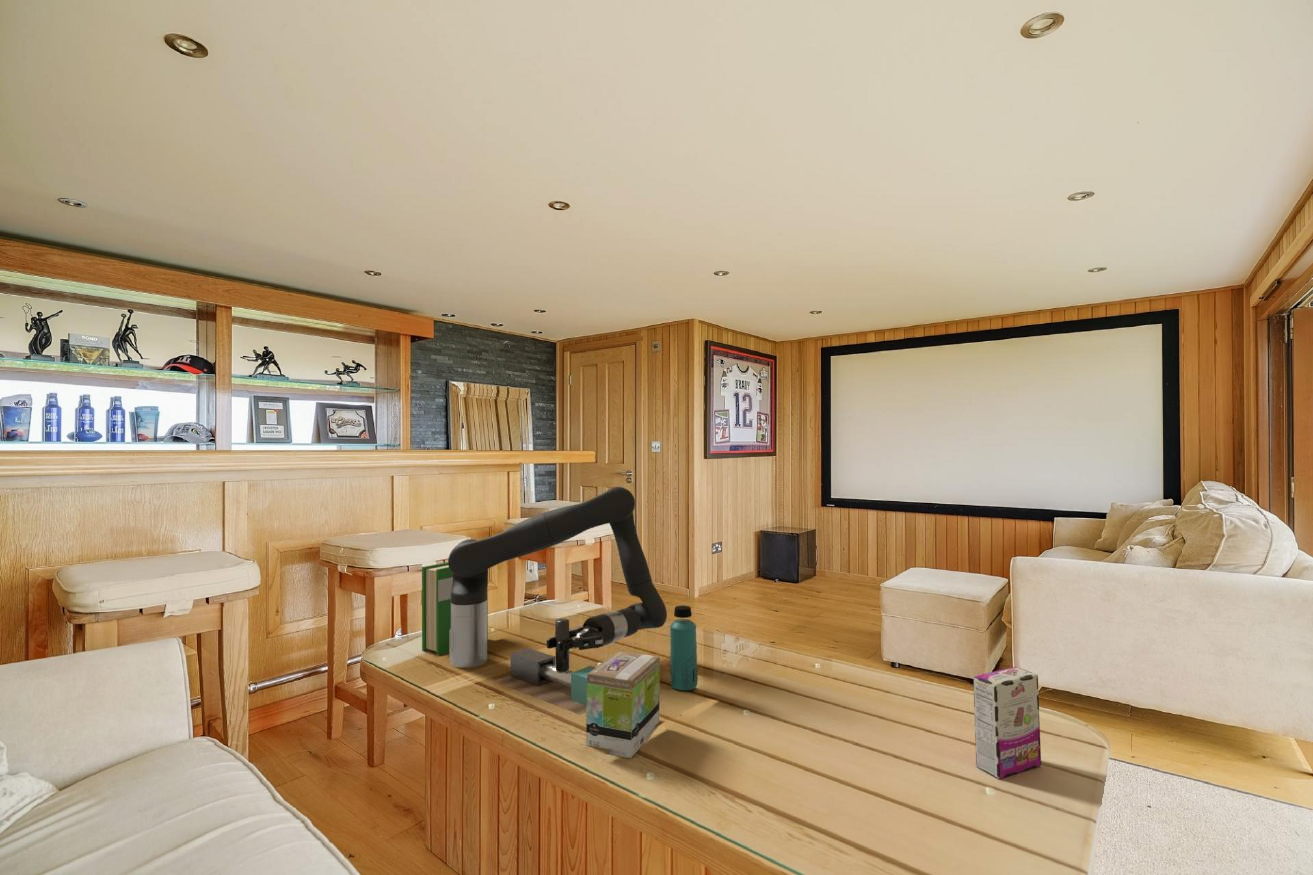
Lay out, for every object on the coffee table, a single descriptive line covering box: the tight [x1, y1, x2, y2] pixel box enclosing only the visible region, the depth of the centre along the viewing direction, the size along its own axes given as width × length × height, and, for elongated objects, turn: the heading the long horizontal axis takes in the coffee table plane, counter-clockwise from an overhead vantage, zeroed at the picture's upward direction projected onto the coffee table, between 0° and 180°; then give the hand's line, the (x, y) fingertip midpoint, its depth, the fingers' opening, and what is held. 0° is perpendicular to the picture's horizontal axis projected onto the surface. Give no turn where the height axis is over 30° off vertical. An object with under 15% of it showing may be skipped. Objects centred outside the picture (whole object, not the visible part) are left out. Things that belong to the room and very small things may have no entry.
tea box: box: [585, 650, 661, 759], centre depth 123 cm, size 15×10×15 cm, turn 160°
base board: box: [494, 675, 587, 715], centre depth 147 cm, size 30×14×1 cm, turn 50°
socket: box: [571, 665, 596, 706], centre depth 140 cm, size 7×6×6 cm
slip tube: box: [540, 618, 574, 687], centre depth 147 cm, size 20×3×15 cm, turn 50°
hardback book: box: [421, 561, 489, 656], centre depth 183 cm, size 18×7×24 cm, turn 146°
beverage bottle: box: [669, 605, 699, 691], centre depth 147 cm, size 6×7×20 cm
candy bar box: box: [972, 666, 1042, 780], centre depth 111 cm, size 11×5×16 cm, turn 114°
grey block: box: [509, 647, 556, 687], centre depth 153 cm, size 10×5×6 cm, turn 50°
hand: (553, 645), depth 144 cm, fingers closed on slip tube, 3 cm apart
